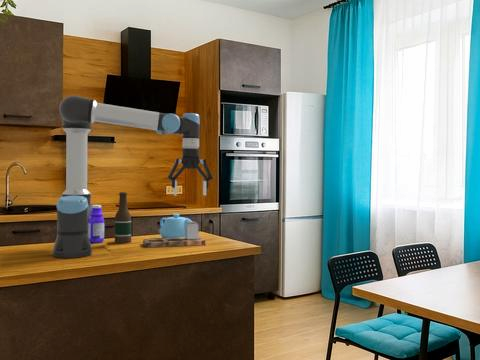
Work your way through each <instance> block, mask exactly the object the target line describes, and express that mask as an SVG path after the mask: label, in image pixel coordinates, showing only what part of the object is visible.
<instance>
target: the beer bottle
mask: <svg viewBox="0 0 480 360" xmlns="http://www.w3.org/2000/svg"><path fill="white" fill-rule="evenodd" d="M118 195H119V203H118V209H117V212H116V213H115V216H114V244H119V245H121V244H123V245H124V244H131V243H132V216H131V212H130V211H129V209H128V201H127V199H128V198H127V197H128V193H127V192H126V191H120V192H119V193H118Z"/></svg>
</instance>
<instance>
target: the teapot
mask: <svg viewBox="0 0 480 360" xmlns="http://www.w3.org/2000/svg"><path fill="white" fill-rule="evenodd" d="M172 215H173V216H171V217H162V218H161V219H160V221H159V225H160V228H159V229H158V233H159V234H160V236H161V237H162V238H161V239H166V238H184V237H185V223H186V222H193V221H192V220H191V219H190V218H189V217H182V216H180V213H173V214H172Z"/></svg>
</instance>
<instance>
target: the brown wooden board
mask: <svg viewBox="0 0 480 360" xmlns="http://www.w3.org/2000/svg"><path fill="white" fill-rule="evenodd" d="M142 245H143V246H144V247H145V248H148V249H150V248H170V247H171V248H172V247H190V246H204V247H206V240H205V239H204V238H203V237H200V236H198V240H185V237H184V238H166V239H165V238H148V239H147V238H146V239H145V238H144V239H142Z"/></svg>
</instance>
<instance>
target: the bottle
mask: <svg viewBox="0 0 480 360" xmlns="http://www.w3.org/2000/svg"><path fill="white" fill-rule="evenodd" d="M91 207H92V213H91V216H90V217H89V219H88V238H89V241H90V244H91V243H92V244H98V243H103V242H104V240H105V219H104V217H103V215H104V213H103V211H102V205H100V204H91Z"/></svg>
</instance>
